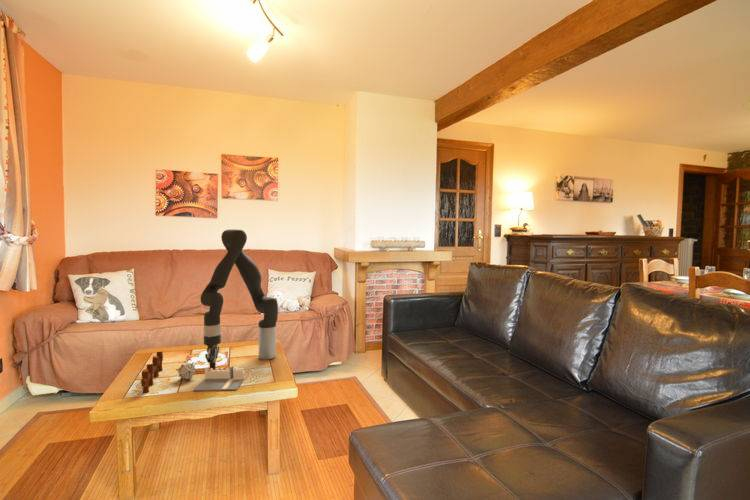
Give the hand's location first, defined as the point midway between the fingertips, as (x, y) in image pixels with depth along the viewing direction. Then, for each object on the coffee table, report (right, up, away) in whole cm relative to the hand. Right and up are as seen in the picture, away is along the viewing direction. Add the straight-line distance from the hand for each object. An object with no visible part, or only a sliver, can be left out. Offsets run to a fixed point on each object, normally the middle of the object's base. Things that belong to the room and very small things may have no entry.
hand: (212, 369), depth 185 cm
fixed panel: (+13, -4, -3) cm, 14 cm away
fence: (-26, -4, -4) cm, 26 cm away
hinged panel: (+5, -3, -4) cm, 7 cm away
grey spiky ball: (-11, -4, -3) cm, 12 cm away
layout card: (+7, -4, -9) cm, 12 cm away
